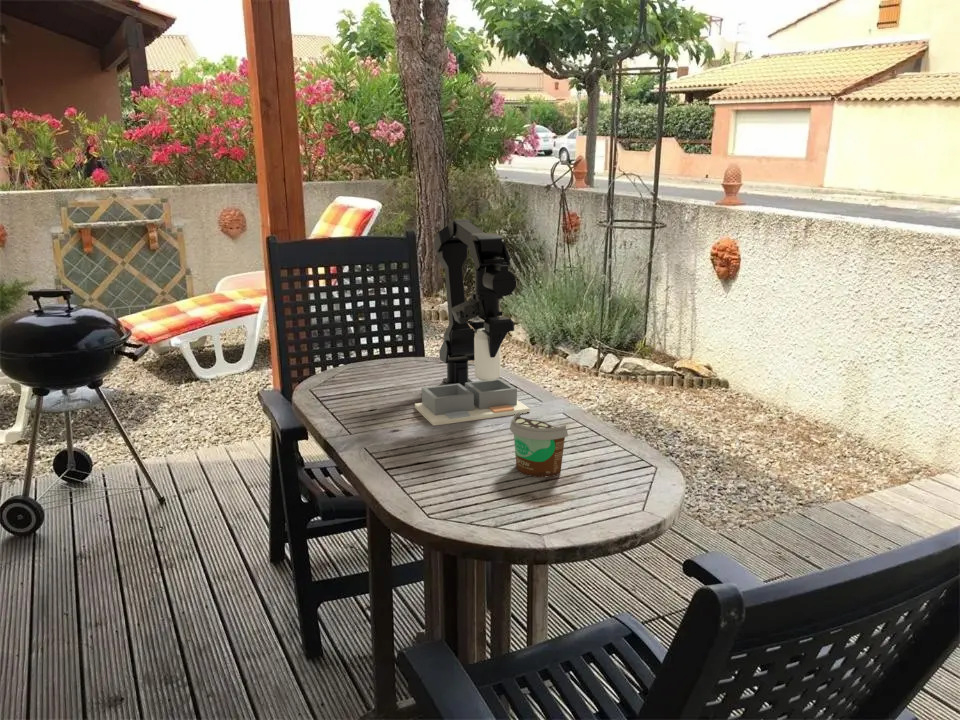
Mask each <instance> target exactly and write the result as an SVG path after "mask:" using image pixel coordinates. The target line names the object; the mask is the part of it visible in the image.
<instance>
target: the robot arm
mask: <svg viewBox="0 0 960 720" xmlns="http://www.w3.org/2000/svg"><path fill="white" fill-rule="evenodd" d="M433 245H434V247H433V248H434V251H435V253H436V258H437V260H438V261H439V264H440V265H441V267H443V269H444V279H445V281H444V282H445V291H446V302H447V303H446V304H447V313H448V315H447V316H448V325H447V328H446V329H445V331H444V334H443V341H442V345H441V347H440V349H439V352H438V353H439V360H440V362H443V363H444V364H446V378H442V381H443V382H444V383H446V385H449V384H458V383H460V384H461V385H462V386H465V383H466V382H474V381H472V380H471V379H470V378H469V361H474V362H475V357H474V337H475V335H476V333H477V329H481V328H484V329H485V330H482V331H483V332H484V333H485V334H486V335H487V338H488V346H489V353H490V357H491V358H492V357H495V356H496V354H497V352H498V350H499V348H500V349H501V346H502V344H503V342H504V340H505V337H506V336H507V335H508V333H510V332H514V331H515V322H514V321H513V320H512V319H511V318H509V317H508V316H505V315H504V314H503V313H504V312H503V311H502V310H500V308H501V307H500V306H501V305H500V300H503V297H507V296H509V295H512V293H513V292H514V290H516V286H517V279H516V277H515V275H514V273H512V272H511V271H510V270H509V266H511V261H510V260H511V255H510V253H509V250H508V248H507V245H506V242H505V239H503V237H502V236H501V235H500V234H497V233H489V232H484V231H483V230H481V229H480V228H479V227H477V226H475V225H474V224H473V223H472V221H470V220H468V219H453V220H450V221H449V223H448V225H447V226H445V227H443V228H442V229H441V230H439V231H438V232H437V235H435V239H434V242H433ZM468 251H469V254H470V257H471V258H472V261H473V262H474V264H473V268H474V284H475V285H474V290H475V291H474V292H472V293H471V295H470V298H471V299H469V300H466V293H465V285H464V284H465V283H464V273H463V272H464V271H463V270H464V269H463V267H464V264H465V262H466V261H467V258H468V255H469V254H468ZM503 315H504V316H503ZM471 327H472V328H471Z"/></svg>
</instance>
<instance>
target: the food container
mask: <svg viewBox="0 0 960 720" xmlns="http://www.w3.org/2000/svg"><path fill="white" fill-rule="evenodd" d="M509 430H510V432H511V433H512V434H513V440H514V441H513V442H514V452H515V454H514V455H515V464H516V465H515V466H516V470H517V472H519V473H520V472H521V473H520V474H522V473H523V474H522V475H525V476H528V475H531V476H530V477H533V476H536V477H535V478H546V477H545V476H551V477H554V476H553V475H555V476H558V475H560V474H559V473H561V472H562V463H563V454H564V447H565V438H566V437H568V436H569V434H568V428H567V425H566V424H565V425H561V426H558V427H557V426H553V425H551V424H550V423H546V422H544V421H542V420H536V419H529V418H525V417H521V414H520V412H519V413H517V414H515V415H512V419H511V421H510V426H509ZM557 474H558V475H557ZM542 476H543V477H542Z"/></svg>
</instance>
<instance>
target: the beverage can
mask: <svg viewBox="0 0 960 720" xmlns="http://www.w3.org/2000/svg"><path fill="white" fill-rule="evenodd" d="M482 330H485V329H484V328H481V329H477V333H476V334H475V337H474V357H475V360H474V376H475V378H477V379H478V381H494V380H496V379H500V377H501V376H502V375H501V373H502V371H501V370H502V369H501V367H502V365H501V363H502V361H501V353H502V352H501V347H500V348H499V350H498V352H497V354H496V356H495V357H492V358H491V357H490V353H489V346H488V338H487V335H486V334H485V333H484V332H483V331H482Z"/></svg>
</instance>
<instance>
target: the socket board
mask: <svg viewBox="0 0 960 720" xmlns="http://www.w3.org/2000/svg"><path fill="white" fill-rule="evenodd" d="M421 399H422V400H421V401H422V402H418V403H414V409H415V410H417V411H418V412H419V414H420V415H422V416H423V417H424V419H426V420H427V421H428V422H429V423H430V424H431V425H432V426H441V425H449V424H455V423H463V422H469V421H476V420H485V419H492V418H499V417H506V416H514V414H517V413H519V412H520V415H521V414H522V413H523V414H528V413H527V412H530V413H531V408H530V407H528V406H527V405H525V404H524V403H523V402H521V401H519V400H518V388H517V387H515V386H514V385H512V384H510V383H509V382H507V381H505V380H504V379H503V378H497V379H496V380H494V381H481V380H477V381H473V382H466V383H465V385H461V384H460V383H458V384H449V385H448V384H443V385H441V384H440V385H433V386H425V387H421Z"/></svg>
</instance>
